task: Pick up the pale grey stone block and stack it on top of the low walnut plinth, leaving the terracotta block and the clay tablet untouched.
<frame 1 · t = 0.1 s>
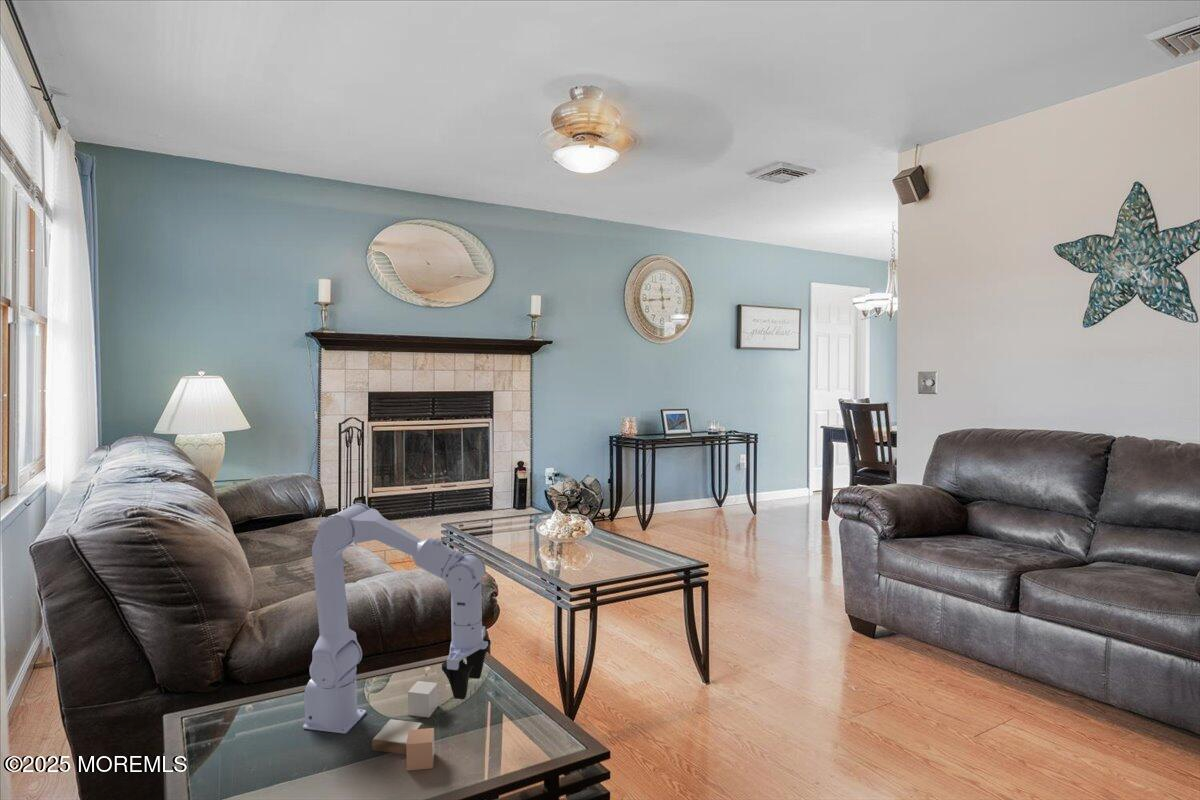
hand: (467, 687, 135), 10 cm above the table, tool pointing down, fingers open, 7 cm apart
plinth: (398, 742, 134), on the table
stone block: (423, 710, 145), on the table
terracotta block: (420, 761, 128), on the table
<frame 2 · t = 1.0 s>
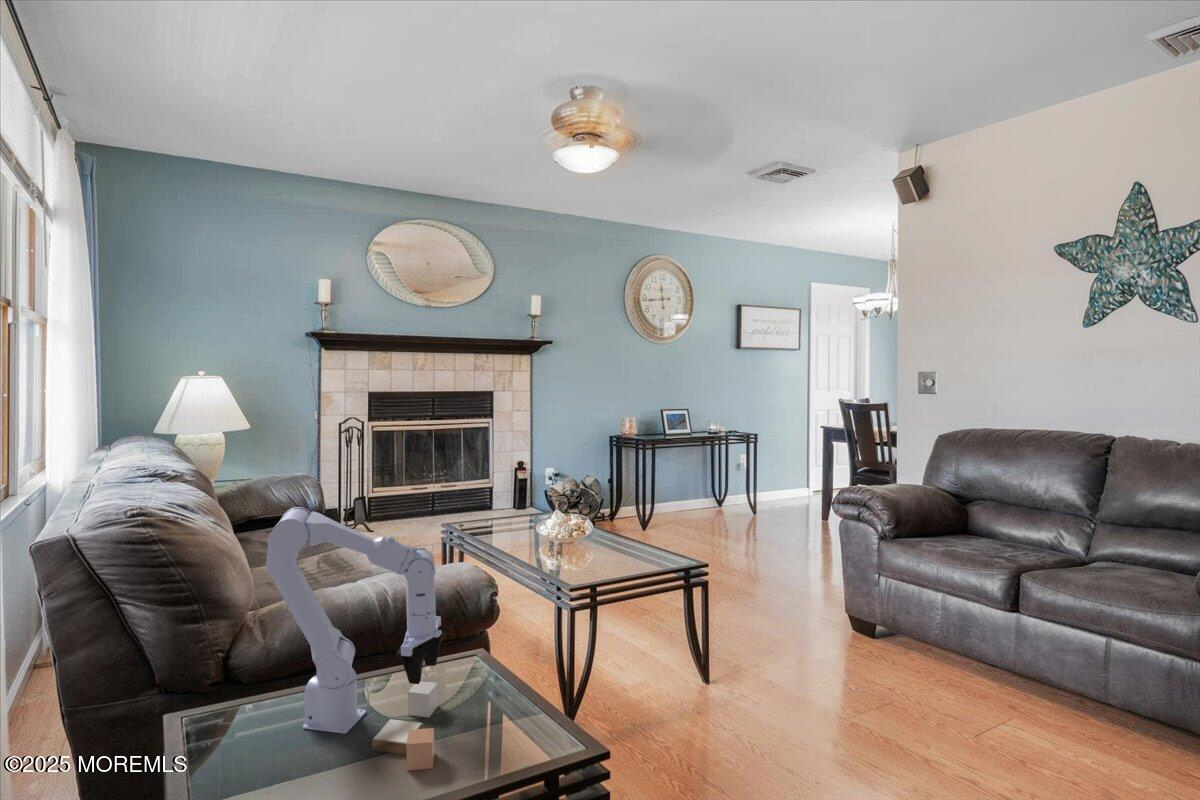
hand: (422, 673, 144), 8 cm above the table, tool pointing down, fingers open, 7 cm apart
nothing on the table moved.
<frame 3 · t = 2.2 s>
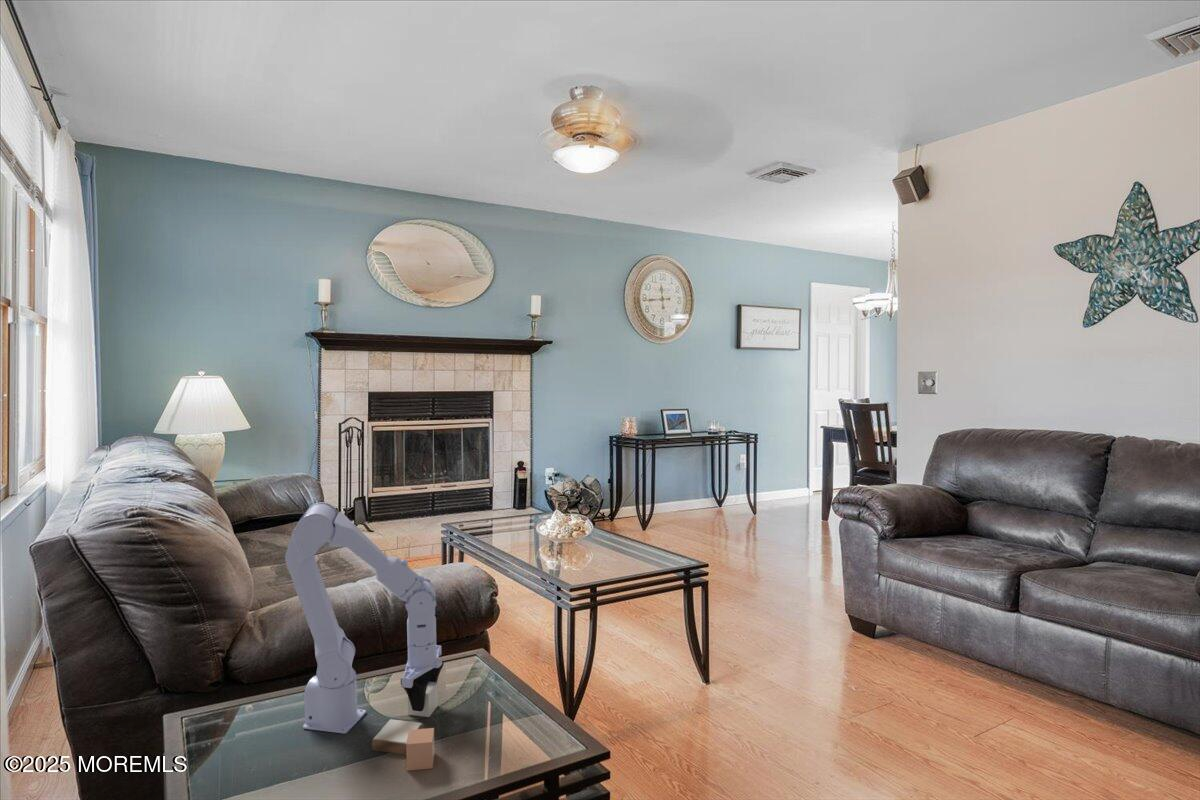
hand: (423, 703, 145), 1 cm above the table, tool pointing down, fingers closed on stone block, 4 cm apart
stone block: (423, 709, 145), on the table, touching gripper
everything else where it was.
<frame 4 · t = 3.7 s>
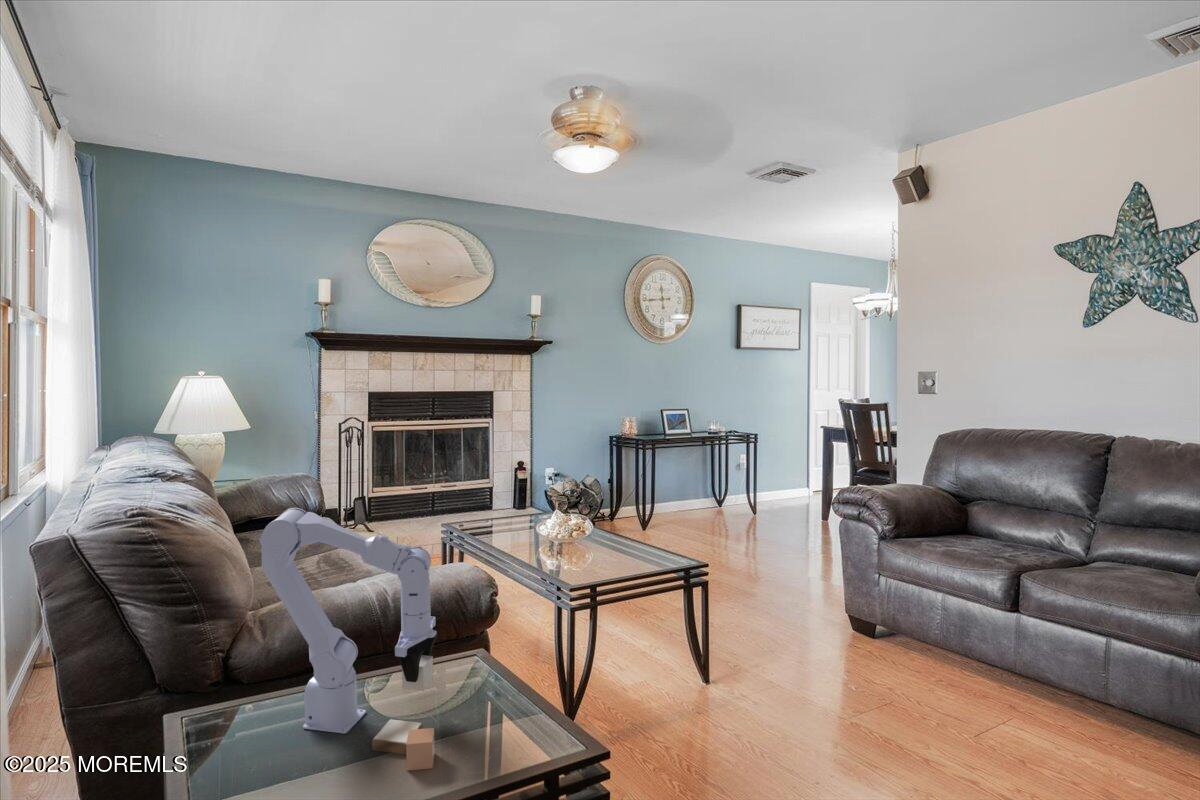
hand: (417, 674, 142), 9 cm above the table, tool pointing down, fingers closed on stone block, 4 cm apart
stone block: (418, 683, 142), point 7 cm above the table, touching gripper
everything else where it was.
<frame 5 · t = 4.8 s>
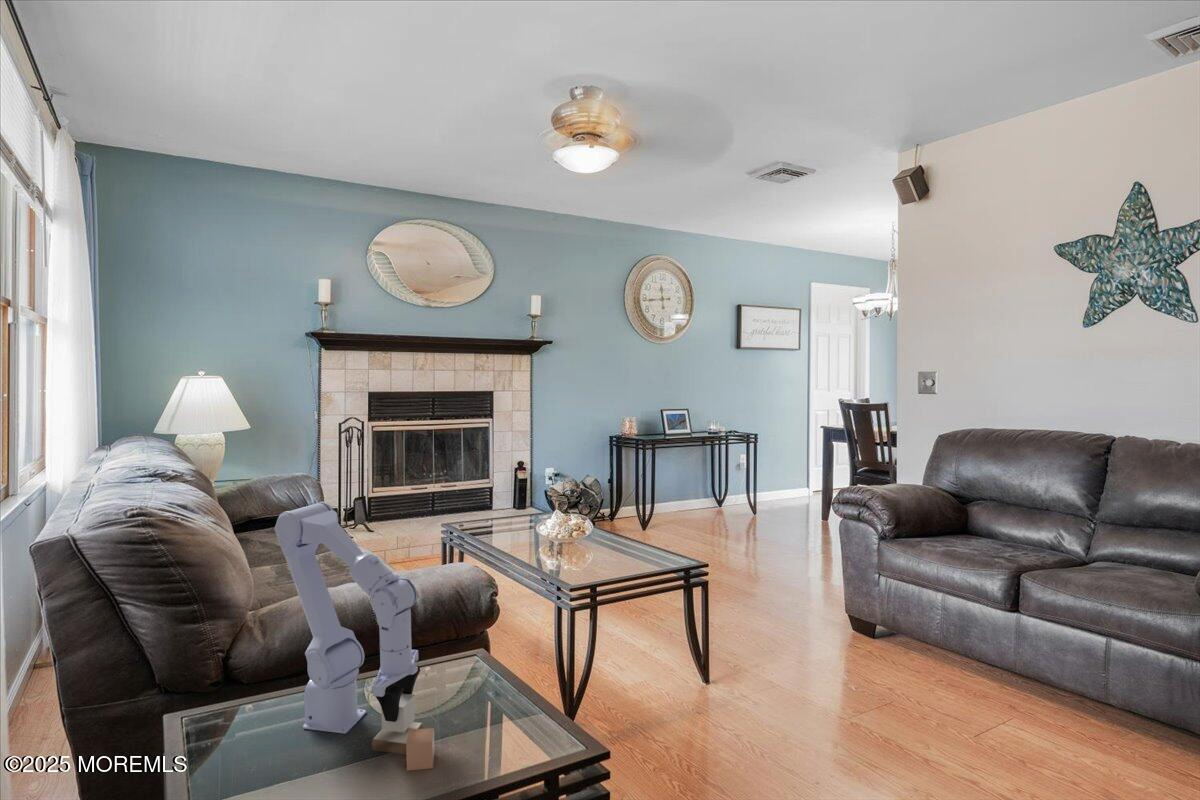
hand: (397, 713, 133), 6 cm above the table, tool pointing down, fingers closed on stone block, 4 cm apart
stone block: (398, 724, 134), point 3 cm above the table, touching gripper
everything else where it was.
when the fingers open (5 cm above the table, at t = 5.4 s): stone block stays where it is, resting on plinth.
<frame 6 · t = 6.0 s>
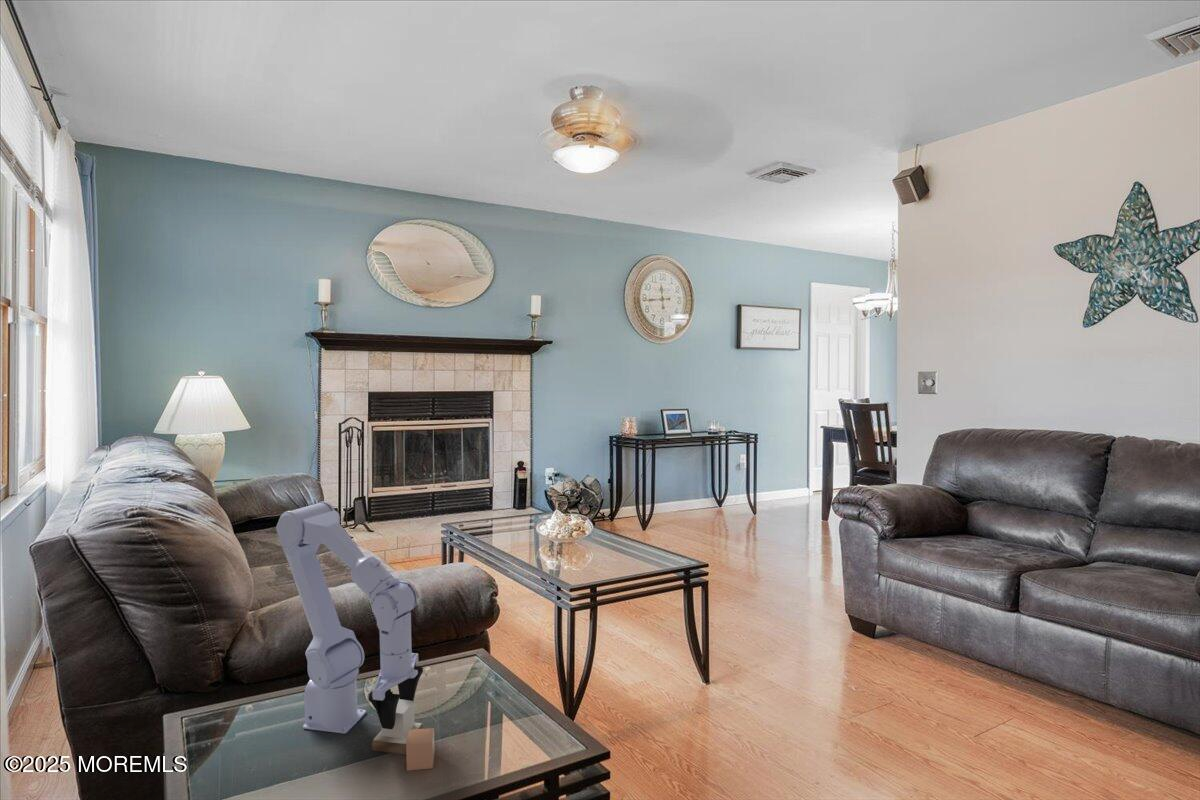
hand: (397, 716, 134), 5 cm above the table, tool pointing down, fingers open, 7 cm apart
plinth: (398, 743, 134), on the table, touching stone block
stone block: (398, 730, 134), point 2 cm above the table, touching plinth
everything else where it was.
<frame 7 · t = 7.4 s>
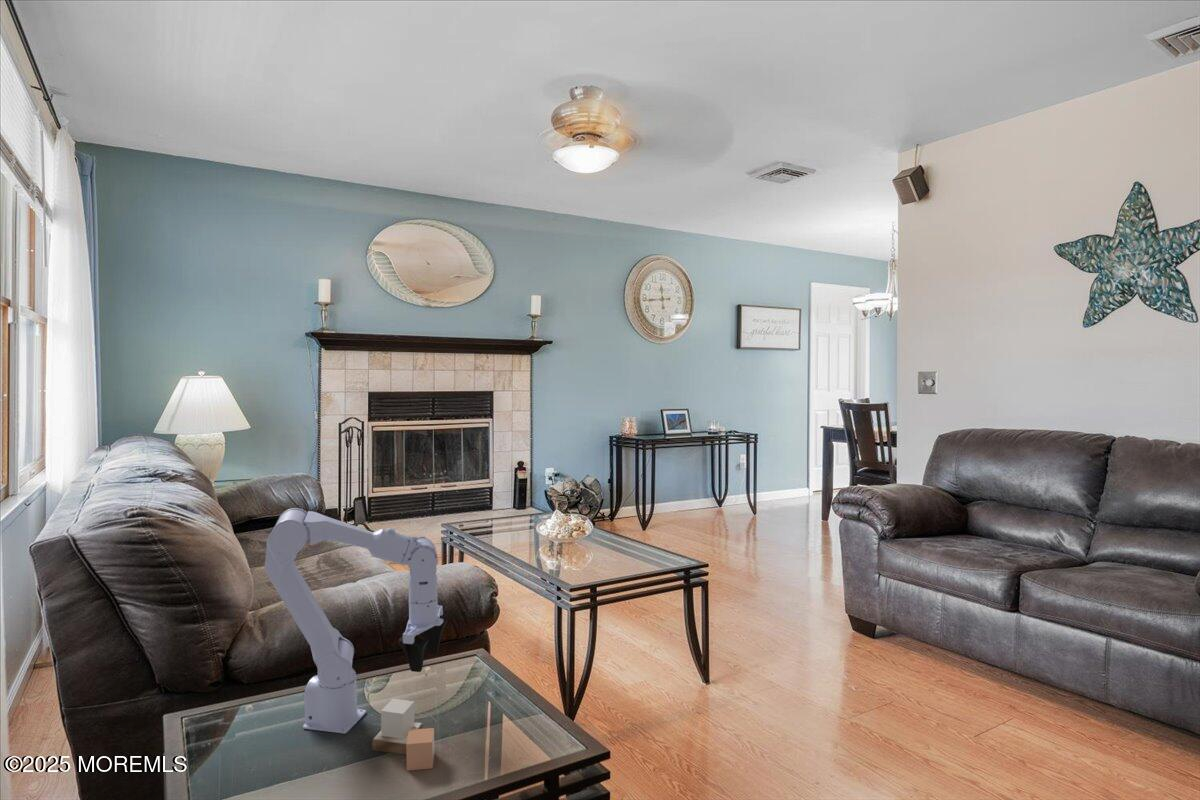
hand: (424, 661, 145), 10 cm above the table, tool pointing down, fingers open, 7 cm apart
nothing on the table moved.
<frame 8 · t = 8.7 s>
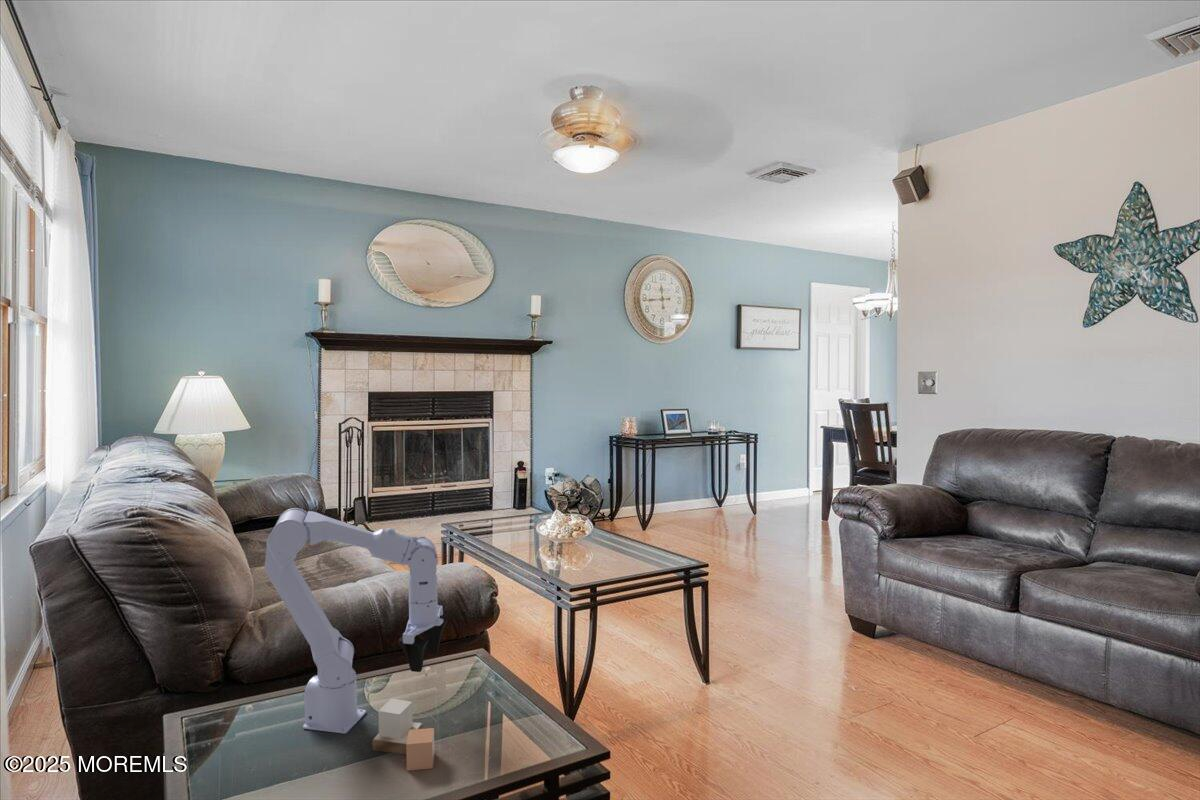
hand: (424, 661, 145), 10 cm above the table, tool pointing down, fingers open, 7 cm apart
plinth: (398, 743, 134), on the table
stone block: (396, 731, 134), point 2 cm above the table
everything else where it was.
at the end: stone block 0.4 cm off-centre on the plinth, point 2.5 cm above the plinth's base; stone block tilted 0°; the gripper is holding nothing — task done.
